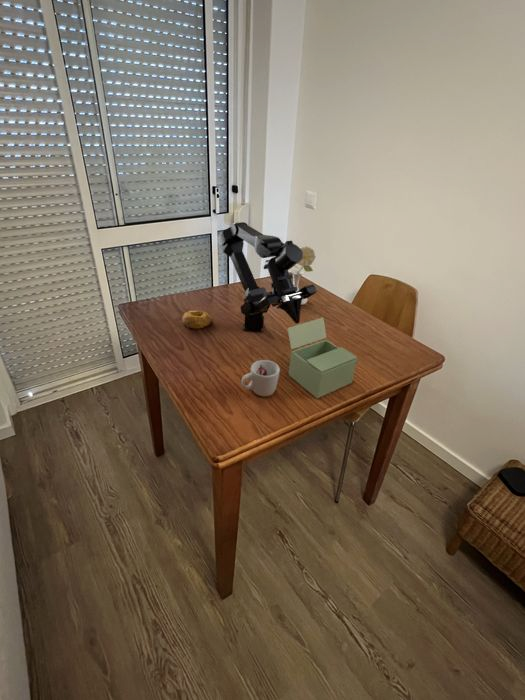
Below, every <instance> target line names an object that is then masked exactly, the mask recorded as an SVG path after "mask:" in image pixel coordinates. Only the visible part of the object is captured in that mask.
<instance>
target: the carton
mask: <svg viewBox="0 0 525 700" xmlns="http://www.w3.org/2000/svg"><path fill="white" fill-rule="evenodd" d="M357 361H358V356H356V355H355V354H353V353H352V352H350V351H349V350H347V349H346V348H344V347H342V346H340V347H338V346H337V345H335V344H334V343H332V342H331V341H329V340H327V339H322V340H319V341H316V342H313V343H310V344H307V345H304V346H302V347H299V348H296V349H293V350H291V351H290V359H289V366H288V376H289V377H290V378H292V379H293V380H294V381H295V382H296V383H298V384H299V385H300V386H301V387H302V388H304V389H305V390H306V391H307V392H308V393H310V394H311V395H312V396H313V397H314V398H316V399H320V398H322V397H324V396H326V395H329V394H331V393H332V392H334V391H337V390H339V389H341V388H343V387H345V386H348V385H351V384H352V383H353V379H354V374H355V371H356V366H357Z"/></svg>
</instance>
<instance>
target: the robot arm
mask: <svg viewBox="0 0 525 700" xmlns="http://www.w3.org/2000/svg"><path fill="white" fill-rule="evenodd" d="M217 242H218V245H219V247H220V248H221V250H222V252H223V253H224V254H225V255H227V256H228V257H229V258H230V260H231V262H232V264H233V266H234V270H235V271H236V274H237V277H238V279H239V281H240V283H241V286H242V288H243V290H244V296H243V304H242V305H240V312H241V314H243V316H244V326H243V331H247V332H256V333H261V332H262V330H263V329H264V326H265V315H264V314H267V313H268V311H269V309H270V307H271V306H272V308H275V307H276V309H279V310H280V309H281V310H283V311H284V312H285V313H286V314H287V315H288V316H289V318H290V320H292V321H293V322H294V323H295V324H296V325H298V324H299V323H300V320H301V306H302V305H301V302H302V299H306V298H307V299H308V298H311V297H312V296H314V295H315V294H317V293H318V289H317V287H316V285H314V284H310V285H305V286H303V287H301V288H299V291H297V290H298V289H297V287H294V285H293V275H292V273H291V274H290V272H289V271H290V270H291V269H292V268H293V267H295V266H297V265H298V264H297V263H298V262H299V261H300V260H301V259H302V257H303V253H302V250H301V249H300V248H301V247H299V246H298V245H297V244H295V243H294V242H293V240H286V241H285V242H283V241H282V240H281V238H279V237H278V236H275V235H268V234H263V233H261V232H260V231H258V230H257V229H255V228H253V227H251V226H250V225H249V224H248V223H247V222H244V221H241V222H234V223H231V225H230V226H229V227H228V228H226V229H224V230H222V232H220V234H219V236H218V237H217ZM245 242H246V243H247V244H249V245H250V246H252V247H253V248H254V252H255V253H256V254H257V255H258V256H259V257H260V258H261V259H266V260H265V262H264V264H263V270H267V271H268V273H269V276H270V278H271V279H270V280H271V282H272V283H271V284H270V286H271V291H267V290H266V288H265V287H263V286H262V287H260V286H259V285H258V284H257V281H256V279H255V277H254V275H253V271H252V270H251V268H250V265H249V263H248V261H247V259H246V255H245V254H244V251H243V249H244V243H245ZM267 258H270V259H267ZM294 265H295V266H294ZM296 291H297V292H296ZM290 296H291V297H290Z"/></svg>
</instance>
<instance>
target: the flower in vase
mask: <svg viewBox="0 0 525 700" xmlns="http://www.w3.org/2000/svg"><path fill="white" fill-rule="evenodd" d="M299 248H300V249H301V250H302V253H303V257H302V259H301V260H300V261H299V262H298V263H297V264H296V265H294V266H293V267H295V268H297V269H292V270H290V273H291V274H292V275H293V278H292V282H293V285H294V287H297V289H298V290H297V291H299V290H300V288H299V282H300V279H301V277H302V275H303V274H304V272H306V273H307V272H308V273H309V272H313V271H314V270H313V268H312V267H311V265H313V263H314V262H315V260H316V253H315V250H314V249H313V248H311V246H310V247H309V246H307V245H306V246H302V247H299ZM297 265H298V266H301V268H299V267H298V266H297ZM302 269H304V271H302ZM297 291H296V292H297ZM290 297H291V296H290ZM307 302H308V298H306V299H302V302H301V306H304V305H306V303H307Z"/></svg>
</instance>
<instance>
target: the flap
mask: <svg viewBox="0 0 525 700" xmlns="http://www.w3.org/2000/svg"><path fill="white" fill-rule="evenodd" d="M286 329H287V334H288V339H289V340H288V341H289V346H290V350H295V349H298V348H301V347H304V346H307V345H310V344H313V343H316V342H319V341H322V340H325V339H327V332H326V325H325V318H324V317H320V318H316V319H314V320H313V319H312V320H310V321H306V322H303V323H300V324H299V323H298V324H296V325H293V326H289V327H287V328H286Z"/></svg>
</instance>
